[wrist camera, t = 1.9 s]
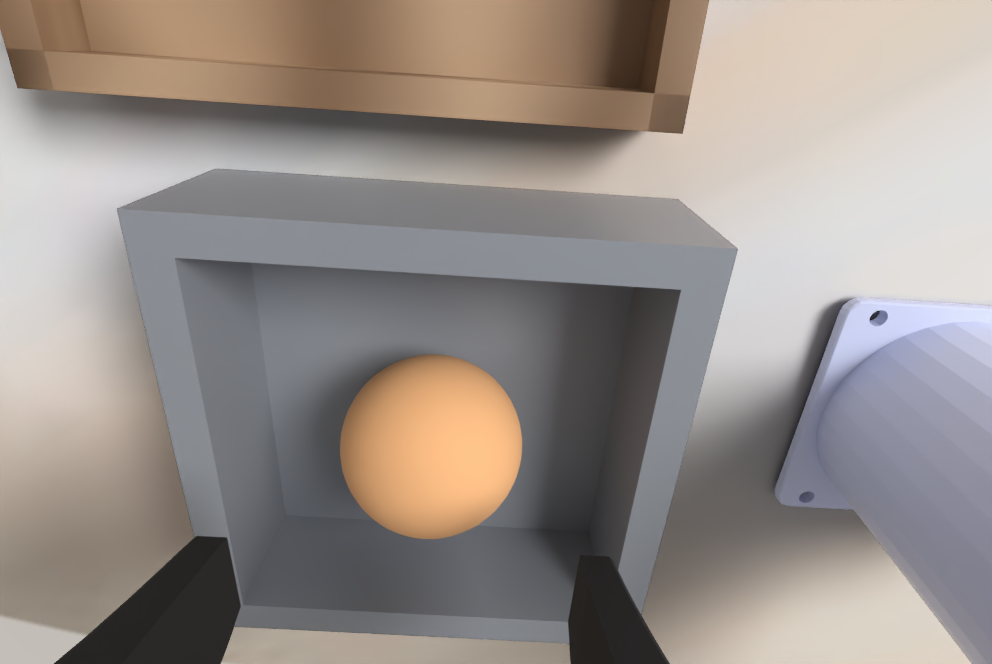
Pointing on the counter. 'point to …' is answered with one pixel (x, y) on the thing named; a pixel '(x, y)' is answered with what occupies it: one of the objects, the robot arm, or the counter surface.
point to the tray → (375, 55)
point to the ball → (431, 446)
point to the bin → (413, 332)
